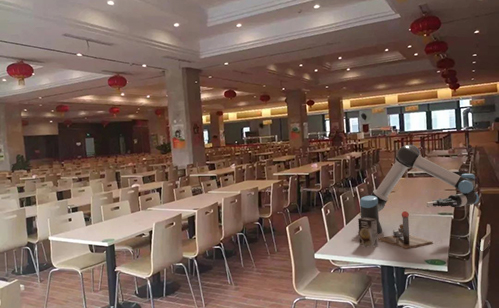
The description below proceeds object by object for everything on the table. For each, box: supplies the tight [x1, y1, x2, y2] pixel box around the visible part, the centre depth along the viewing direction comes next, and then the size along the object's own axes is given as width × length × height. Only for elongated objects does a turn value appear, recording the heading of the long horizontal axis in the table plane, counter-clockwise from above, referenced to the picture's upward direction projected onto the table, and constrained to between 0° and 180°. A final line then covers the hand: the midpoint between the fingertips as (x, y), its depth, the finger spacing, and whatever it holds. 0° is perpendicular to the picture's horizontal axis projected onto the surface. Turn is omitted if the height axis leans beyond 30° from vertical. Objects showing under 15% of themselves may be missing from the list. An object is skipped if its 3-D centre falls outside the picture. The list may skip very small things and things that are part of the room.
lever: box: [392, 211, 410, 244], centre depth 250 cm, size 21×4×19 cm, turn 179°
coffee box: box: [357, 217, 379, 248], centre depth 249 cm, size 9×6×16 cm
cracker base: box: [377, 223, 433, 250], centre depth 251 cm, size 20×24×8 cm
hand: (427, 205), depth 246 cm, fingers closed
